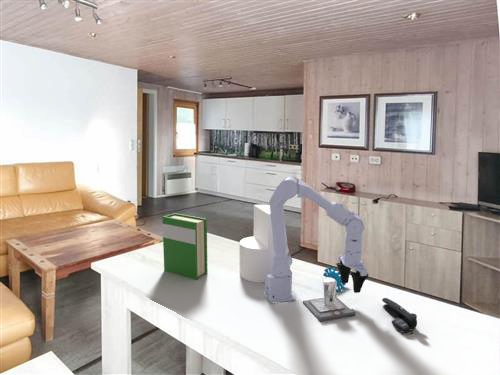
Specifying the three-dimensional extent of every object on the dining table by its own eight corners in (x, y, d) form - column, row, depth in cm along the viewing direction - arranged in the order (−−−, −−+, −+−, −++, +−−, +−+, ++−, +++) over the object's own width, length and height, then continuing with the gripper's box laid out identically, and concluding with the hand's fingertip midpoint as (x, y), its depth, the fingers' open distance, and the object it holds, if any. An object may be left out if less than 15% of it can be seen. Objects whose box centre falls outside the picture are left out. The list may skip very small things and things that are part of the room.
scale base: (320, 322, 114) (320, 316, 114) (302, 302, 127) (302, 298, 126) (355, 316, 118) (356, 311, 118) (335, 298, 130) (335, 293, 130)
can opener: (422, 335, 108) (424, 318, 107) (400, 336, 107) (402, 319, 106) (393, 306, 125) (394, 291, 124) (374, 307, 125) (375, 291, 124)
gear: (331, 291, 132) (321, 266, 137) (322, 297, 136) (312, 273, 141) (352, 288, 138) (342, 265, 143) (343, 294, 142) (333, 271, 147)
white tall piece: (271, 263, 162) (272, 203, 158) (287, 279, 146) (288, 212, 141) (234, 268, 157) (234, 206, 152) (246, 284, 141) (247, 215, 136)
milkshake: (318, 301, 125) (319, 274, 123) (332, 300, 126) (334, 273, 124) (322, 307, 120) (323, 279, 119) (337, 306, 121) (339, 278, 120)
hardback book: (207, 273, 151) (206, 218, 147) (196, 280, 145) (195, 222, 141) (176, 265, 160) (174, 213, 156) (164, 270, 154) (162, 216, 150)
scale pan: (320, 313, 118) (320, 311, 118) (309, 302, 125) (309, 300, 125) (345, 309, 121) (345, 307, 121) (333, 298, 128) (333, 297, 128)
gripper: (376, 256, 117) (373, 295, 119) (351, 242, 130) (349, 277, 133) (357, 258, 115) (354, 297, 117) (334, 244, 128) (332, 279, 131)
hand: (350, 287), depth 125 cm, fingers open, 7 cm apart
